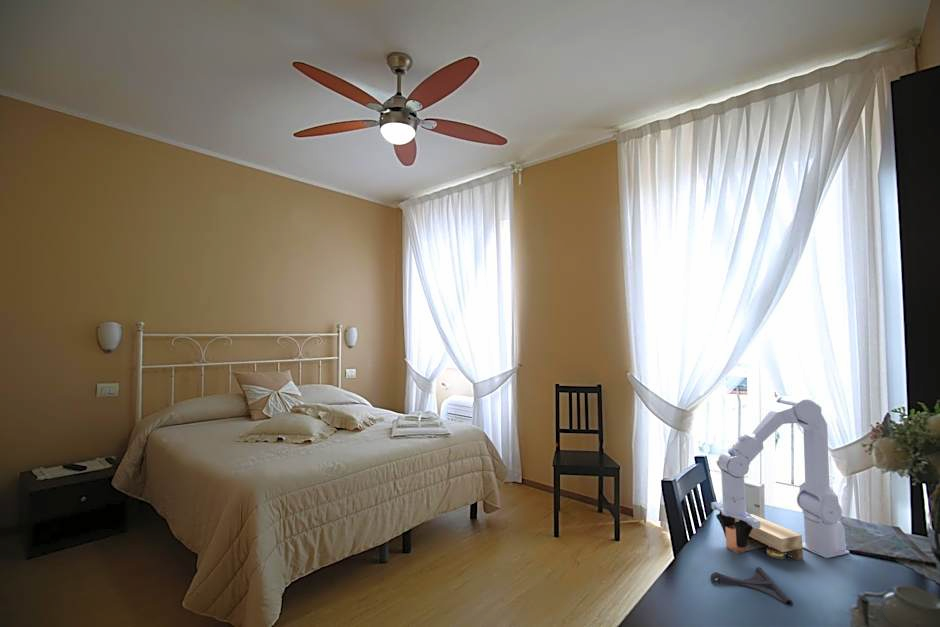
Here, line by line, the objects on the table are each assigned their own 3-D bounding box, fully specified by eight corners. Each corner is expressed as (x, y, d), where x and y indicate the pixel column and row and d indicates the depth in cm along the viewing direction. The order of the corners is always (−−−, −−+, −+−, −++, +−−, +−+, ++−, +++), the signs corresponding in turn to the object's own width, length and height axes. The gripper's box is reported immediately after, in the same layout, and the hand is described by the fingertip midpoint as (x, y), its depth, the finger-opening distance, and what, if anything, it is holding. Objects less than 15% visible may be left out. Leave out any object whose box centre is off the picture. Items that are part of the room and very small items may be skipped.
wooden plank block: (753, 535, 132) (752, 513, 132) (803, 559, 118) (801, 535, 118) (734, 538, 130) (733, 517, 130) (783, 563, 116) (781, 539, 116)
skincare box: (740, 517, 145) (738, 481, 146) (746, 514, 148) (744, 478, 148) (760, 523, 140) (758, 486, 141) (766, 520, 143) (764, 483, 143)
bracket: (701, 568, 115) (701, 558, 115) (762, 573, 112) (762, 562, 112) (723, 601, 101) (722, 589, 101) (793, 608, 98) (792, 595, 98)
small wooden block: (756, 541, 128) (755, 521, 129) (767, 546, 125) (766, 525, 125) (726, 547, 125) (725, 526, 125) (736, 553, 122) (735, 531, 122)
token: (771, 550, 123) (771, 545, 123) (788, 556, 119) (788, 551, 119) (763, 554, 121) (762, 548, 121) (780, 560, 117) (779, 555, 117)
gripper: (702, 489, 130) (704, 534, 130) (745, 506, 117) (748, 557, 116) (720, 486, 132) (722, 531, 132) (765, 503, 119) (767, 553, 118)
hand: (735, 543), depth 124 cm, fingers closed on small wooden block, 3 cm apart
